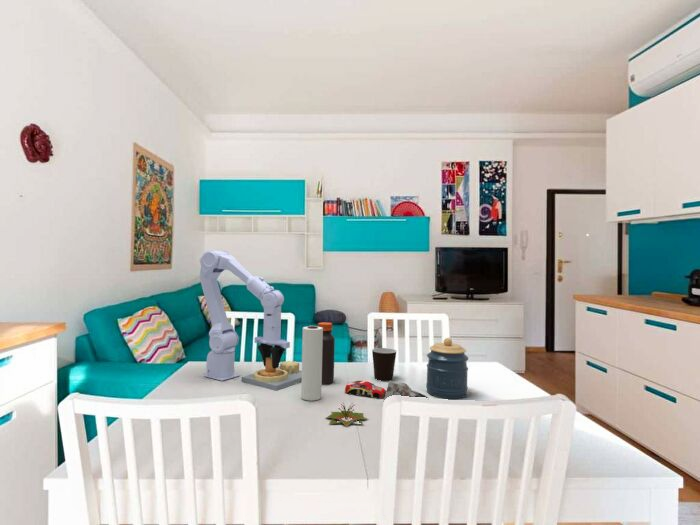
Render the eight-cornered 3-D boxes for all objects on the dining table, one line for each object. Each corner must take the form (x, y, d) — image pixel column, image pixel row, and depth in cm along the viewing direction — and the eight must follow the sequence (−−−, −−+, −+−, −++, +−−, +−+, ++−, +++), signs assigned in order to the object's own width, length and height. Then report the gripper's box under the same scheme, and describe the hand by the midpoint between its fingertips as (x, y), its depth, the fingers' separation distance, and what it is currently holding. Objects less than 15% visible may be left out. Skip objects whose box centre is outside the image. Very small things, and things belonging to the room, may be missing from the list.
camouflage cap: (426, 411, 126) (420, 418, 117) (390, 398, 130) (382, 403, 121) (432, 389, 127) (427, 394, 117) (396, 377, 130) (388, 380, 121)
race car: (388, 395, 133) (389, 383, 133) (383, 401, 128) (383, 387, 128) (349, 389, 138) (350, 377, 138) (343, 394, 133) (343, 381, 133)
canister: (440, 384, 146) (442, 333, 145) (475, 393, 136) (476, 338, 136) (417, 392, 136) (419, 337, 136) (453, 402, 127) (454, 343, 127)
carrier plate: (241, 381, 143) (241, 368, 143) (279, 370, 159) (280, 358, 159) (276, 390, 134) (276, 376, 134) (313, 377, 150) (313, 364, 150)
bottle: (321, 386, 140) (323, 325, 140) (309, 381, 145) (311, 322, 145) (337, 382, 145) (339, 323, 145) (325, 378, 150) (326, 321, 150)
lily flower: (325, 411, 118) (326, 395, 118) (368, 413, 118) (369, 396, 118) (321, 429, 106) (322, 410, 106) (369, 430, 106) (370, 412, 106)
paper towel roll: (316, 402, 124) (317, 329, 124) (297, 399, 126) (299, 327, 126) (325, 395, 131) (327, 325, 131) (308, 392, 133) (309, 324, 133)
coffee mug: (388, 383, 145) (389, 354, 145) (366, 379, 150) (367, 350, 149) (403, 376, 155) (404, 348, 155) (382, 372, 159) (383, 345, 159)
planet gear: (255, 375, 143) (256, 357, 143) (269, 372, 148) (270, 355, 148) (270, 379, 139) (271, 360, 139) (284, 376, 144) (285, 358, 144)
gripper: (248, 325, 144) (247, 365, 144) (279, 330, 136) (278, 372, 136) (263, 323, 150) (262, 361, 150) (294, 327, 142) (293, 368, 142)
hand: (271, 366), depth 144 cm, fingers closed on planet gear, 3 cm apart
